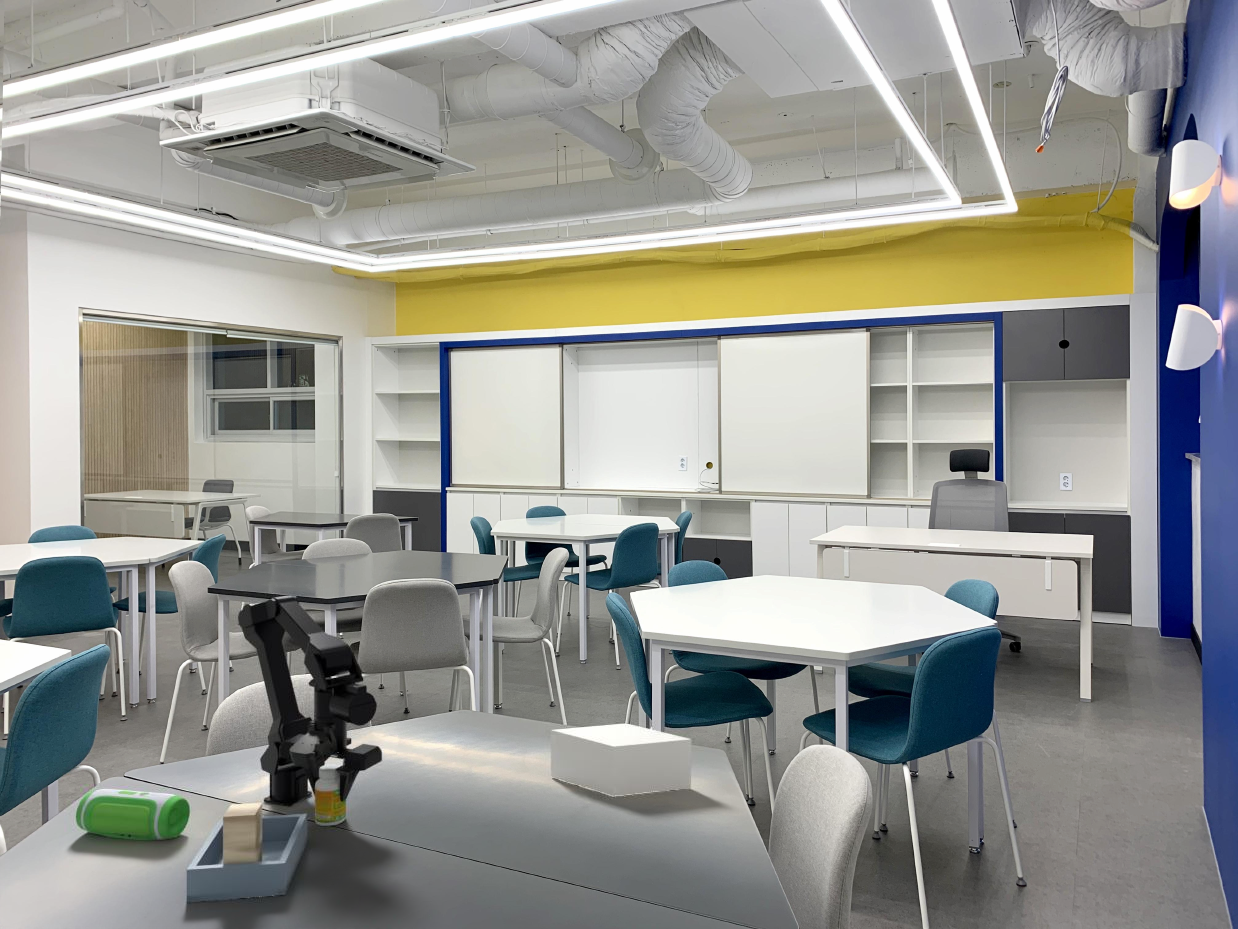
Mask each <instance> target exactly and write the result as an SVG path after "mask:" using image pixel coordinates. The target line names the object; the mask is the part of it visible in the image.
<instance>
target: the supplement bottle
mask: <svg viewBox="0 0 1238 929" xmlns="http://www.w3.org/2000/svg"><path fill="white" fill-rule="evenodd" d="M340 766H342V765H341V764H338V763H330V764H325V765H324V766H322V767H320V768H319V777H320V779H318V780H317V781H316V783H315V796H314V821H315V822H314V823H315V824H316V825H317V826H321V827H330V826H336V825H339V824H341V823H342V822H344V821H345V820H346V817H347V816H346V815H347V799H346V800H345V801H343V802H341V799H340V775H339V773H338V772H337V771H336V770H335V769H336V768H338V767H340Z"/></svg>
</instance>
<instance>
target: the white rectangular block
mask: <svg viewBox="0 0 1238 929" xmlns="http://www.w3.org/2000/svg"><path fill="white" fill-rule="evenodd" d="M551 776H552V777H555V778H557V779H561V780H564V781H566V782H570V783H574V784H577V785H581V786H583V787H588V788H591V789H594V790H597V791H600V792H604V793H607V794H610V795H613V796H614V795H626V794H635V793H643V792H651V791H652V792H653V791H667V790H676V789H686V790H690V789H689V788H692V739H691V738H688V737H684V736H680V735H675V734H673V733H672V734H671V733H667V732H663V731H658V730H655V729H652V728H651V729H650V728H646V727H642V726H639V725H635V724H629V723H617V724H616V723H615V724H605V725H593V726H584V727H583V726H581V727H572V728H571V727H570V728H559V729H551V730H550V777H551Z"/></svg>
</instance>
